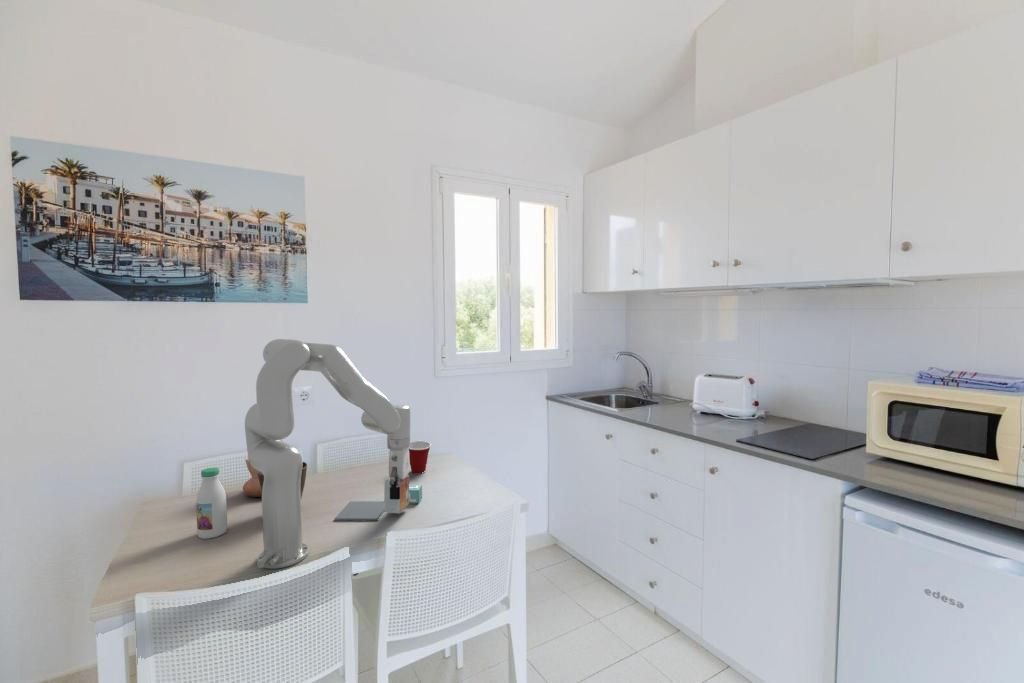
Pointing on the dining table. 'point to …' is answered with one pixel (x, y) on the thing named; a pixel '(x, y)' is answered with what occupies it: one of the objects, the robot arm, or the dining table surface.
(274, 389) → the robot arm
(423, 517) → the dining table surface
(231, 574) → the dining table surface
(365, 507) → the slate mat
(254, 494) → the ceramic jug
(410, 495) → the lettered cube
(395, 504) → the small box
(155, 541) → the dining table surface
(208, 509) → the milk bottle
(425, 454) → the plastic cup
